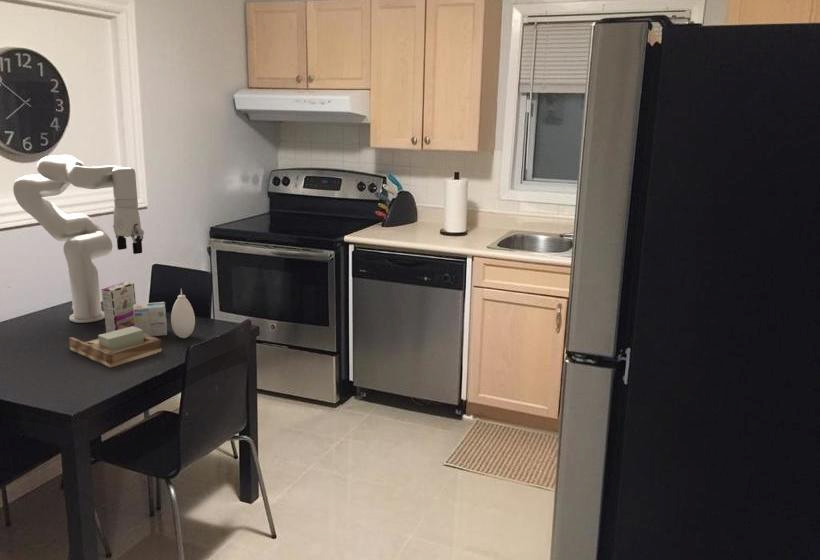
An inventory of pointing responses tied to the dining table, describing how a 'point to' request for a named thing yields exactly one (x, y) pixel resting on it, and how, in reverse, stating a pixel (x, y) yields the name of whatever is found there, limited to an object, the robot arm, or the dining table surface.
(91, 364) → the dining table surface
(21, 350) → the dining table surface
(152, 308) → the light bulb box
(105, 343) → the cream rectangular block
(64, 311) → the dining table surface
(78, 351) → the wooden tray
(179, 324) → the white air blower bulb
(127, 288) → the candy bar box
